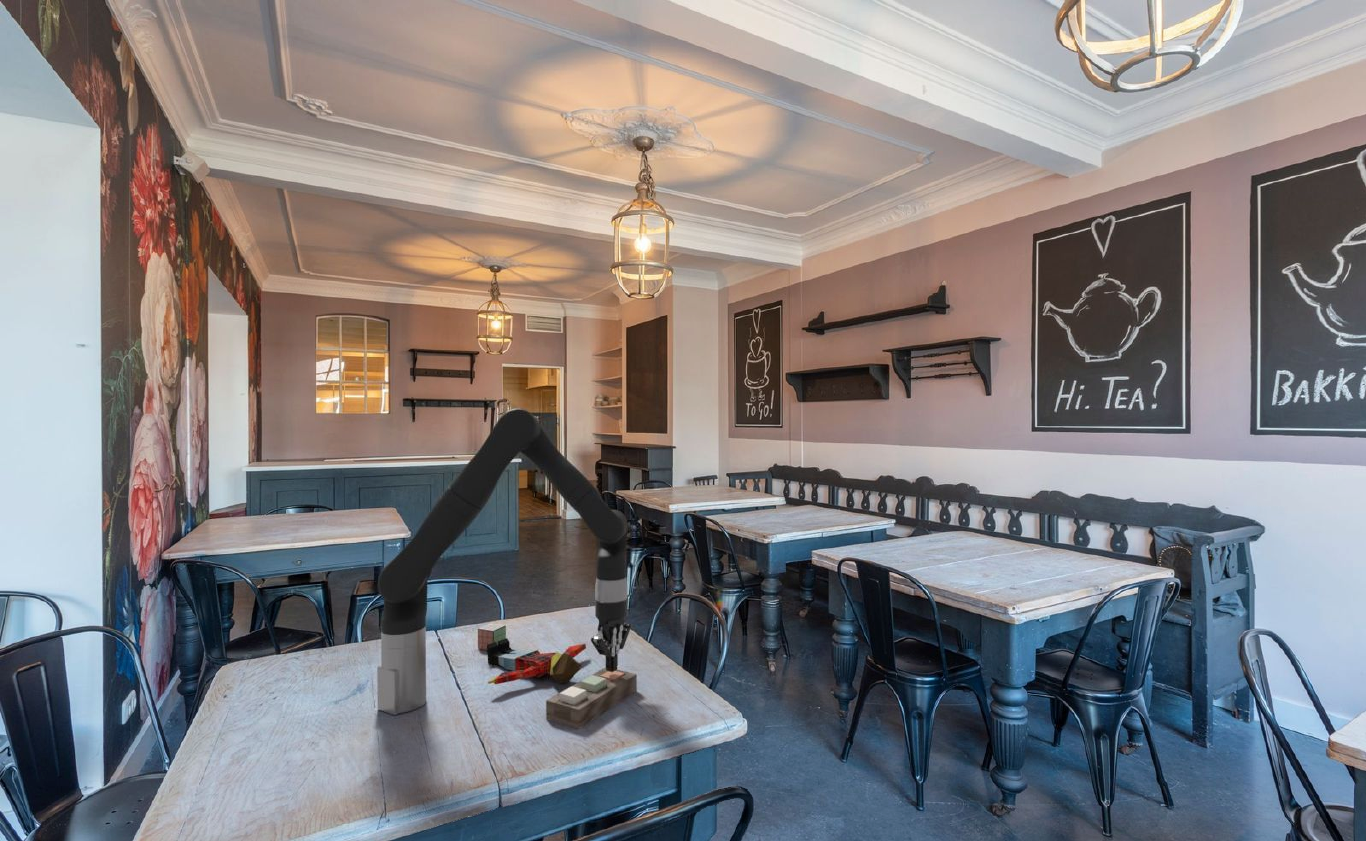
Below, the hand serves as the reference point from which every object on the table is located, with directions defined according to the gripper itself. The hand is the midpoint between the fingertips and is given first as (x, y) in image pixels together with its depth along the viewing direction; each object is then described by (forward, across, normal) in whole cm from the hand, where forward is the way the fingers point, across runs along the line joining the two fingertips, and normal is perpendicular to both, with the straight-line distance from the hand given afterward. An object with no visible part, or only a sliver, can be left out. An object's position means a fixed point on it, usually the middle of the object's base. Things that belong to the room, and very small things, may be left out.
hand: (611, 670), depth 147 cm
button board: (+5, +7, 0) cm, 9 cm away
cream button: (+3, +14, 0) cm, 14 cm away
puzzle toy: (+6, -8, -48) cm, 49 cm away
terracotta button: (+4, 0, 0) cm, 4 cm away
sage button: (+3, +7, 0) cm, 7 cm away
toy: (+6, 0, -25) cm, 25 cm away
